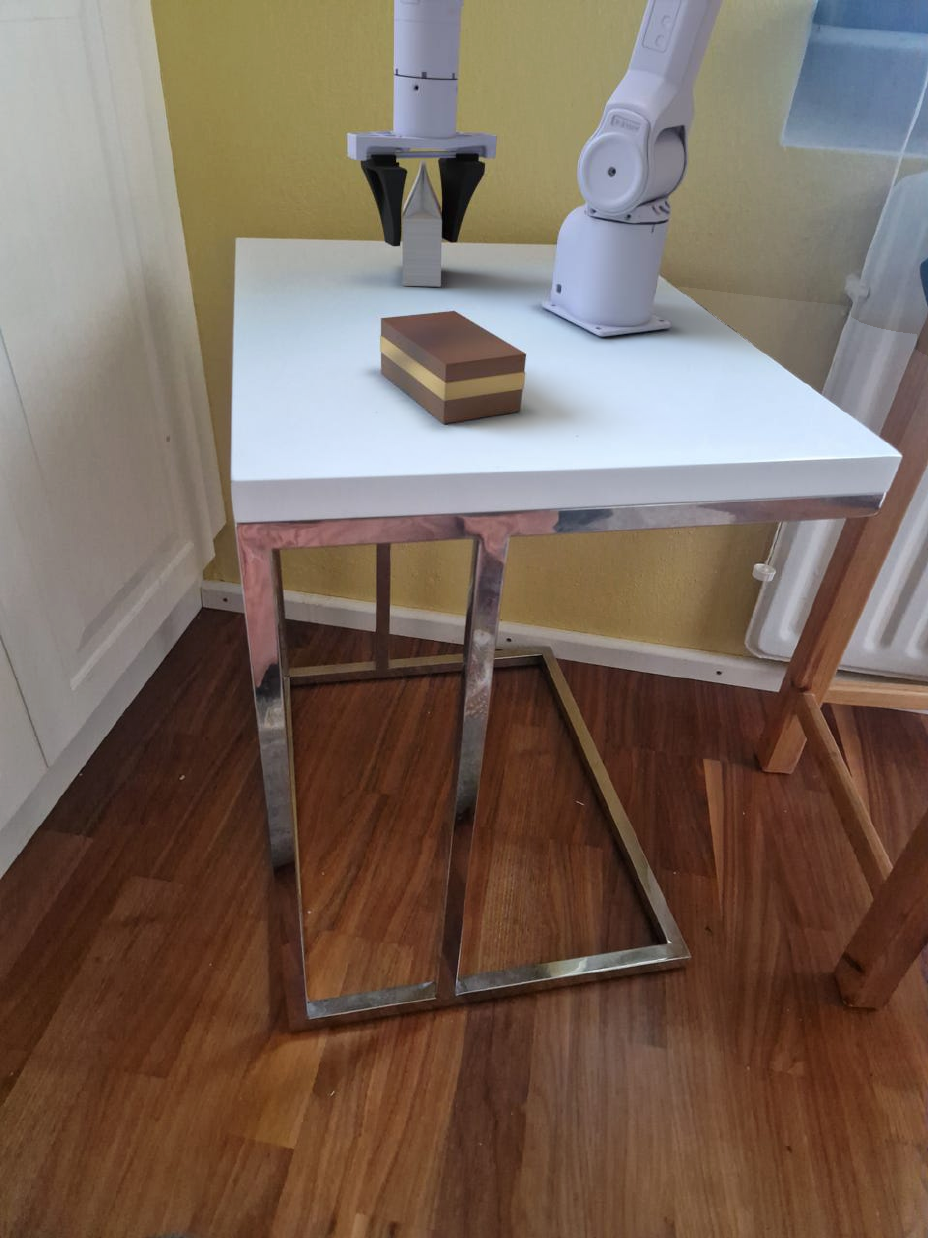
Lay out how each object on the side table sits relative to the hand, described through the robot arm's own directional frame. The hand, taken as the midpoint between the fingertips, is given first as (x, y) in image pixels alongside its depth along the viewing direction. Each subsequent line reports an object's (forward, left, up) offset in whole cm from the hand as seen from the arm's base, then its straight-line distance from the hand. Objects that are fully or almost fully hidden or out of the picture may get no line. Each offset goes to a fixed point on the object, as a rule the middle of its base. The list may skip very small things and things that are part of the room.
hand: (421, 241), depth 81 cm
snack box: (+28, -12, -3) cm, 30 cm away
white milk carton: (0, 0, -4) cm, 4 cm away
